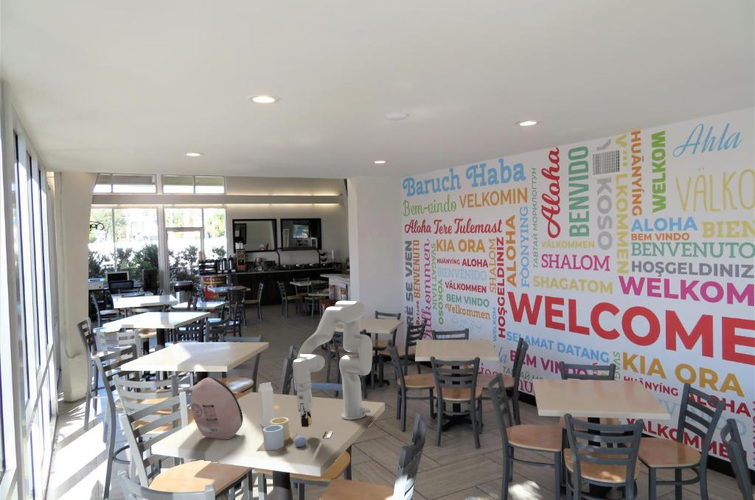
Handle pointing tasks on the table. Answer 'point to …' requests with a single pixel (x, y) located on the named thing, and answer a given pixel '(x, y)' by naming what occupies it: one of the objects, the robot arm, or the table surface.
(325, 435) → the tube board
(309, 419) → the ball ochre
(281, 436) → the tube blue
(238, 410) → the packaged food
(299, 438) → the ball blue
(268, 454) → the table surface
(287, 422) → the tube
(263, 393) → the milk
